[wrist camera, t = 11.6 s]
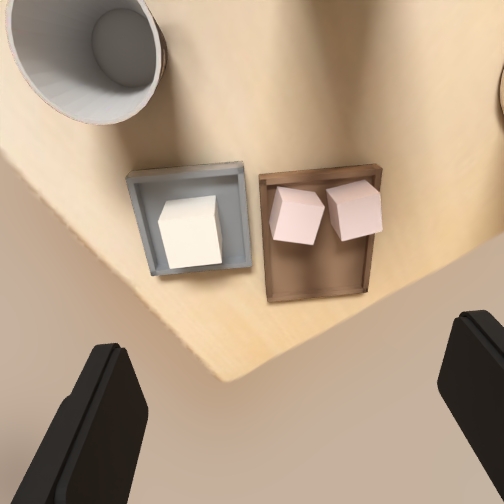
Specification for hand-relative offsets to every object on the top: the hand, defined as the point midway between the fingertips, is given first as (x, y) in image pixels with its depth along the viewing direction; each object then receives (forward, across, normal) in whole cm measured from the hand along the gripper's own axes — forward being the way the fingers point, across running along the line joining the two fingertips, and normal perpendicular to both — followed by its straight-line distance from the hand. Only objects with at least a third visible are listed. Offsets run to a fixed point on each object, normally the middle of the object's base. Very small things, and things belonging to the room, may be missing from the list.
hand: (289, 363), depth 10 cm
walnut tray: (+27, -6, +10) cm, 30 cm away
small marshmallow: (+26, -3, +6) cm, 27 cm away
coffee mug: (+27, +9, -10) cm, 30 cm away
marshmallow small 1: (+26, -9, +7) cm, 29 cm away
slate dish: (+27, +7, +7) cm, 28 cm away
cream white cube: (+26, +7, +7) cm, 28 cm away
